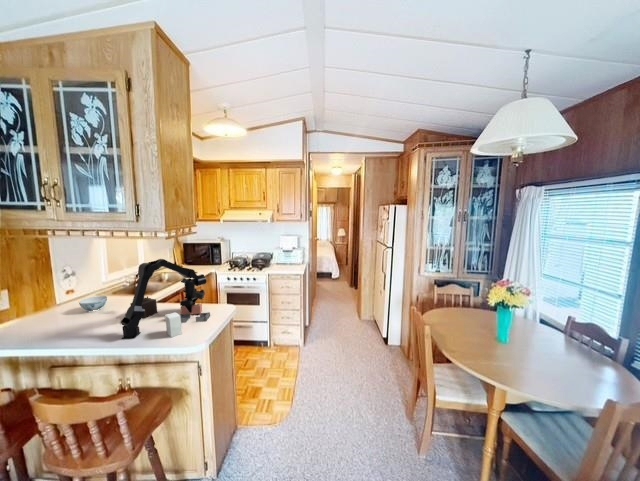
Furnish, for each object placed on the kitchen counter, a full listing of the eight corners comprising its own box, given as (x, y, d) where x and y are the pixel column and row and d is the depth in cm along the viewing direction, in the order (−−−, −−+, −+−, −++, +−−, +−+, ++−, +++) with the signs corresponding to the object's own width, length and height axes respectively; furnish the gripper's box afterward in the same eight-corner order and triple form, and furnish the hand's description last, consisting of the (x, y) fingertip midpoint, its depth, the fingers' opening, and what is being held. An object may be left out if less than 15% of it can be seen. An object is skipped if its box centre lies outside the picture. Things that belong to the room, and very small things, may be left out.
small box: (182, 334, 148) (180, 315, 146) (171, 337, 144) (169, 318, 143) (177, 329, 153) (176, 311, 152) (166, 332, 150) (165, 314, 148)
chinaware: (101, 305, 196) (100, 294, 195) (112, 308, 190) (111, 297, 189) (75, 312, 183) (74, 301, 182) (87, 315, 176) (85, 304, 175)
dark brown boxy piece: (158, 312, 180) (156, 286, 178) (143, 318, 169) (140, 291, 167) (141, 310, 185) (138, 284, 182) (125, 316, 174) (122, 289, 172)
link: (181, 314, 173) (180, 305, 172) (183, 312, 176) (182, 303, 176) (200, 313, 174) (199, 304, 173) (202, 311, 177) (201, 302, 177)
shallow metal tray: (175, 323, 162) (174, 319, 162) (180, 317, 170) (180, 314, 169) (206, 321, 164) (206, 317, 163) (210, 316, 171) (210, 312, 171)
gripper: (197, 291, 165) (199, 316, 167) (207, 283, 183) (208, 305, 185) (178, 292, 164) (180, 317, 165) (190, 284, 182) (192, 306, 184)
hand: (191, 311), depth 175 cm, fingers closed on link, 3 cm apart
